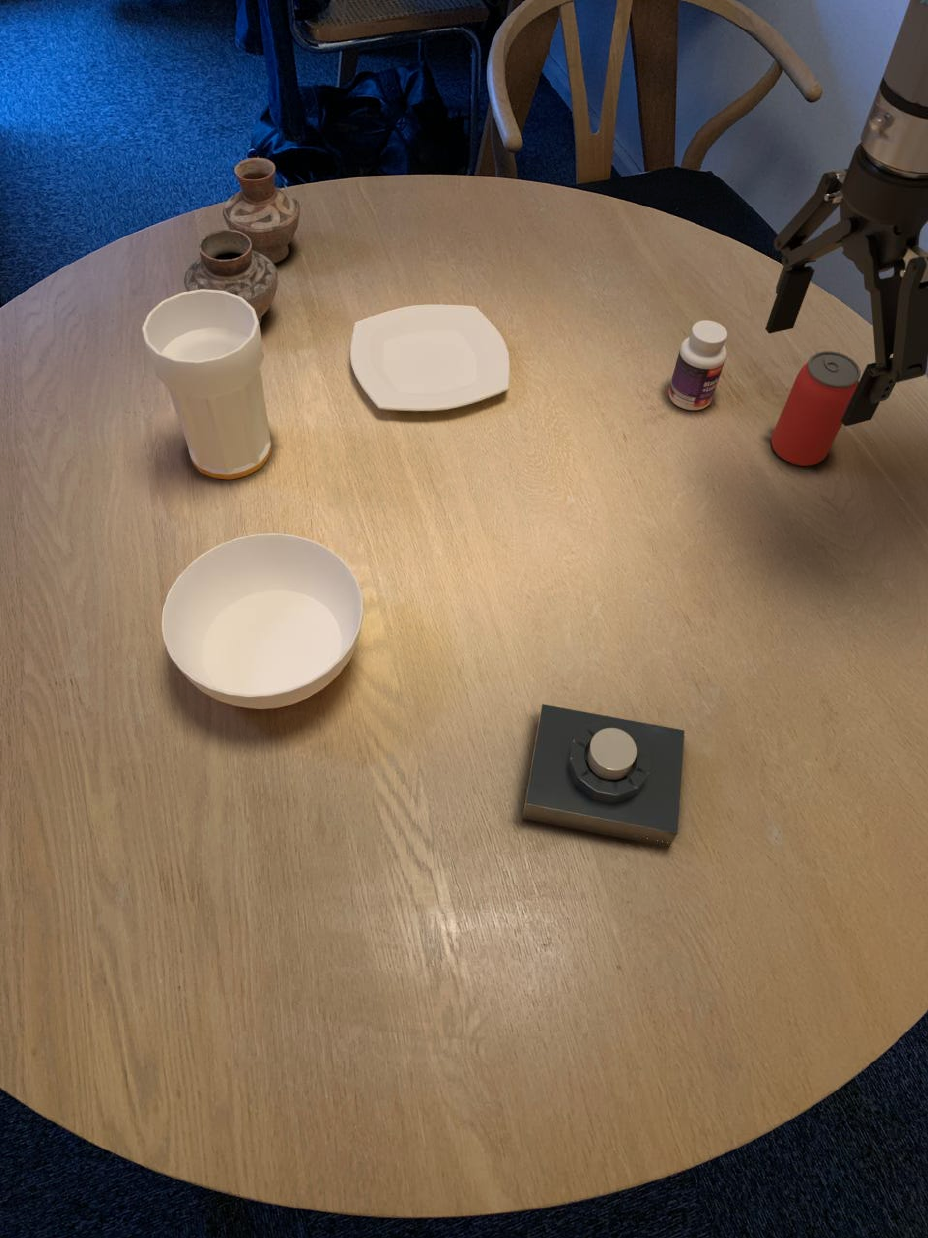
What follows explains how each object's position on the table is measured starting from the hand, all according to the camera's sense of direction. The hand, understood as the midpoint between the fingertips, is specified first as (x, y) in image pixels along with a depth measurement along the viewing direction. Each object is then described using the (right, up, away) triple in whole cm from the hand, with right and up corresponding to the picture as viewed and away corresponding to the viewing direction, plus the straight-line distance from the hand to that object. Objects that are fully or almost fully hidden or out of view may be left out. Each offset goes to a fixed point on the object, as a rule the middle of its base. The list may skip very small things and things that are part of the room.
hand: (815, 373), depth 88 cm
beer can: (+6, -3, +21) cm, 22 cm away
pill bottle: (-6, +4, +25) cm, 26 cm away
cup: (-60, -4, +18) cm, 63 cm away
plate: (-38, +8, +27) cm, 47 cm away
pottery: (-61, +20, +35) cm, 73 cm away
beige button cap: (-21, -35, -8) cm, 42 cm away
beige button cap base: (-21, -38, -4) cm, 44 cm away
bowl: (-52, -27, +3) cm, 58 cm away
